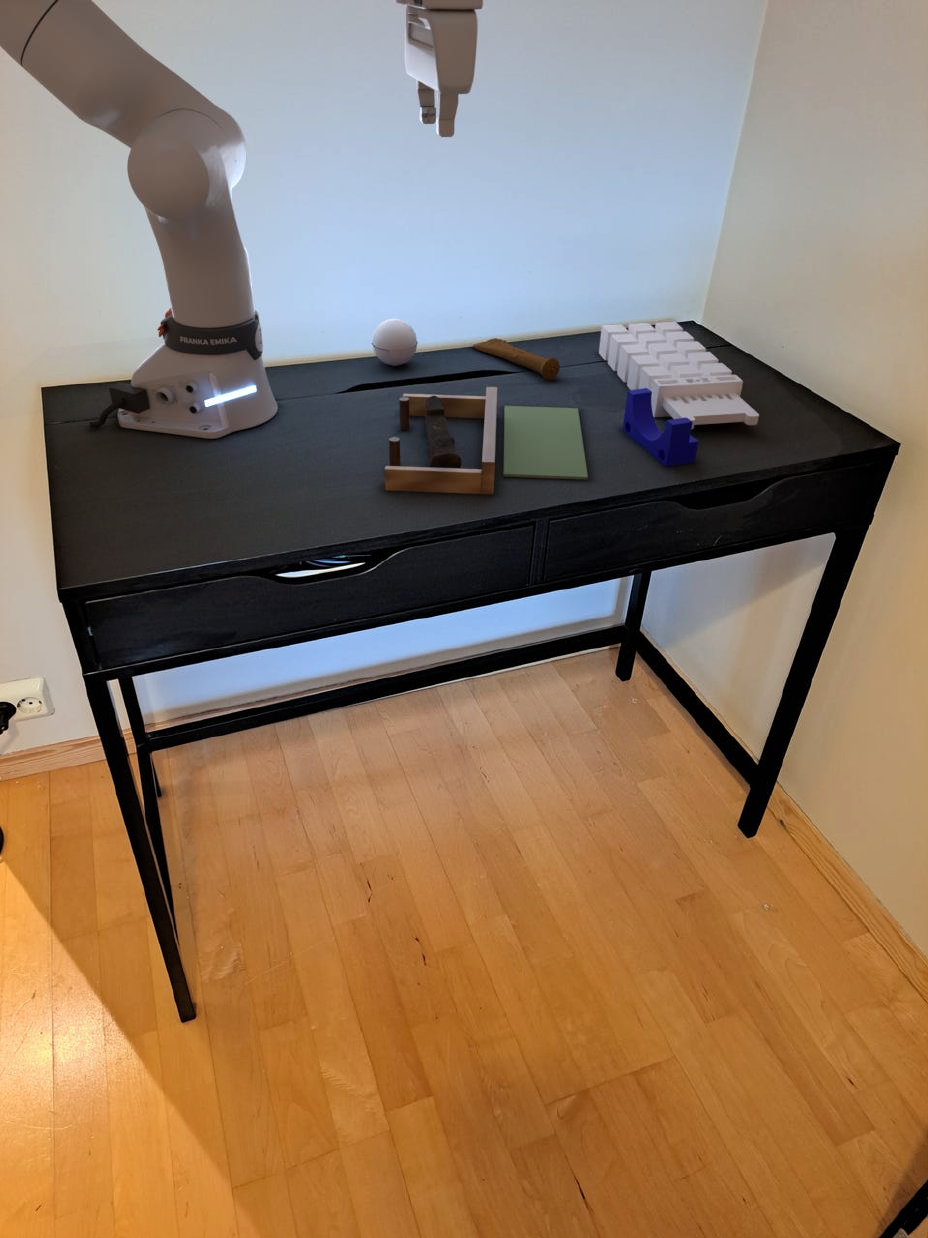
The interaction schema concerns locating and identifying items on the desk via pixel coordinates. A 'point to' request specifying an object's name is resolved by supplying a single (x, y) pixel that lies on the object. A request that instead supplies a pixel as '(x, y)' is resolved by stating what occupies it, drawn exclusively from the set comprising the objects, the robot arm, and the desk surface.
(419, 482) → the tool rack
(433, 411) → the hand tool
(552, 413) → the mat
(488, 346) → the primitive tool
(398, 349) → the white seamed ball
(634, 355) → the organizer
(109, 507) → the desk surface
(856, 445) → the desk surface
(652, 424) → the cable clip
